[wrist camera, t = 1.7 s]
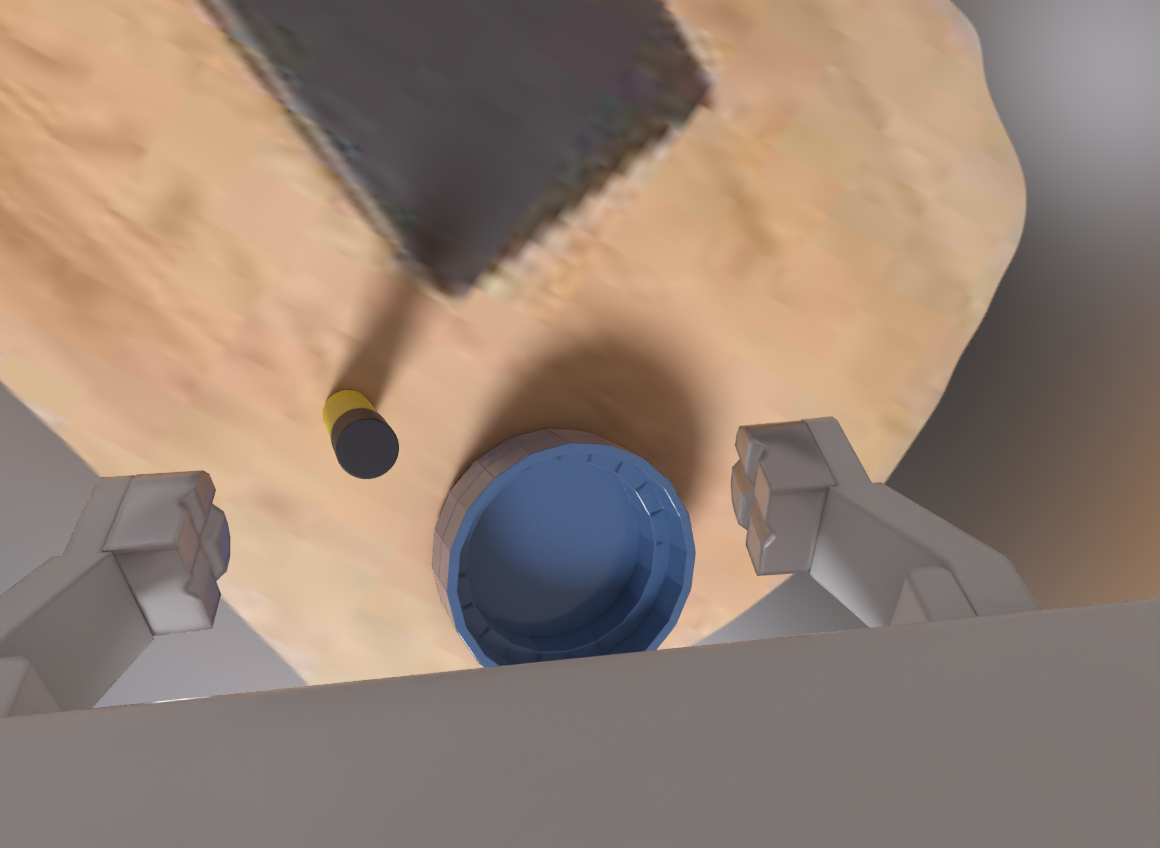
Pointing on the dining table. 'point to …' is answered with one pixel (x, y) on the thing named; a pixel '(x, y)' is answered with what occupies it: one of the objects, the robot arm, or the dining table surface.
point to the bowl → (562, 551)
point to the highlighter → (359, 435)
